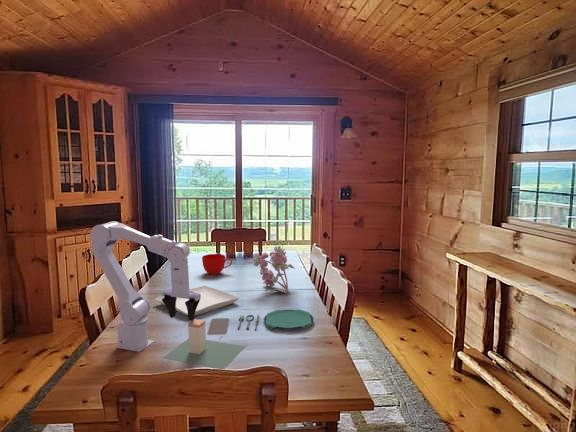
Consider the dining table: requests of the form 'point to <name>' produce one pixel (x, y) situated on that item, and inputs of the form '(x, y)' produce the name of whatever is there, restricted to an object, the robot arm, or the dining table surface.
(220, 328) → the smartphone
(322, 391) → the dining table surface
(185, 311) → the square plate
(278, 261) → the flower
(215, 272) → the ceramic cup
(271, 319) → the cutlery set
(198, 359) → the green mat
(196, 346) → the cream block
